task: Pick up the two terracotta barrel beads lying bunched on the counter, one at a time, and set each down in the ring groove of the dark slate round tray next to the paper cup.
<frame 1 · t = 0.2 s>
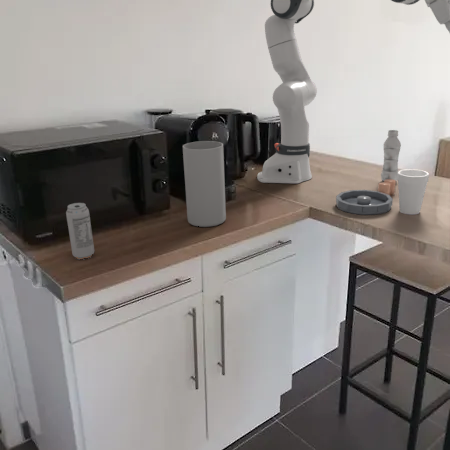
foam cup: (409, 211, 168), on the worktop
cylinder vase: (206, 221, 167), on the worktop
tray: (363, 206, 174), on the worktop
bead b: (383, 197, 182), on the worktop
plastic bottle: (389, 182, 200), on the worktop
bead a: (388, 193, 186), on the worktop
energy drink can: (84, 256, 144), on the worktop
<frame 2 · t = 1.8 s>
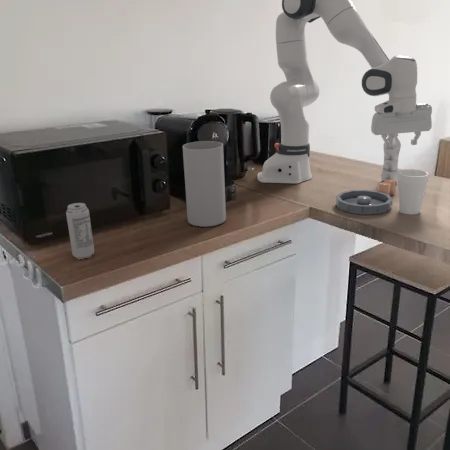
hand: (400, 145, 179), 18 cm above the worktop, tool pointing down, fingers open, 8 cm apart
nothing on the worktop moved.
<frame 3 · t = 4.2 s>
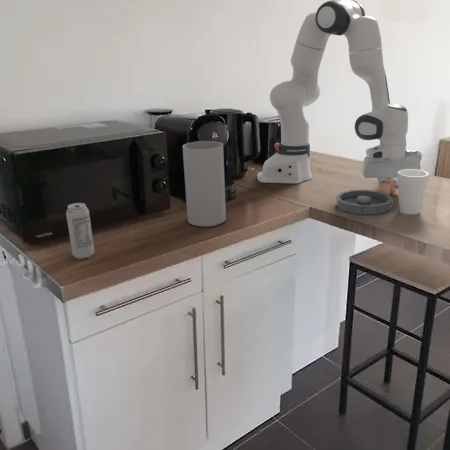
hand: (389, 188, 185), 2 cm above the worktop, tool pointing down, fingers closed on bead a, 4 cm apart
bead a: (388, 193, 186), on the worktop, touching gripper
everything else where it was.
when the fingers open (4 cm above the worktop, at t = 8.6 s): bead a drops 1 cm, resting on tray.
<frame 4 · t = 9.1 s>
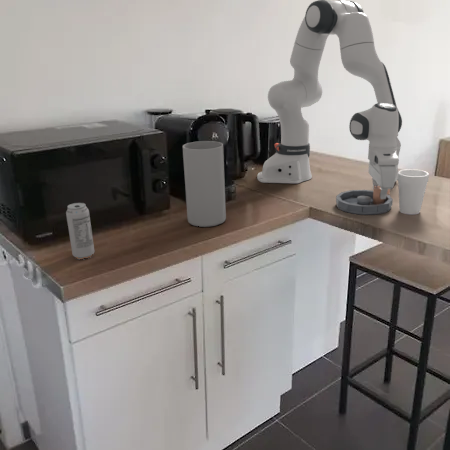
hand: (379, 194, 173), 4 cm above the worktop, tool pointing down, fingers open, 8 cm apart
bead a: (378, 202, 174), point 1 cm above the worktop, touching tray
everything else where it was.
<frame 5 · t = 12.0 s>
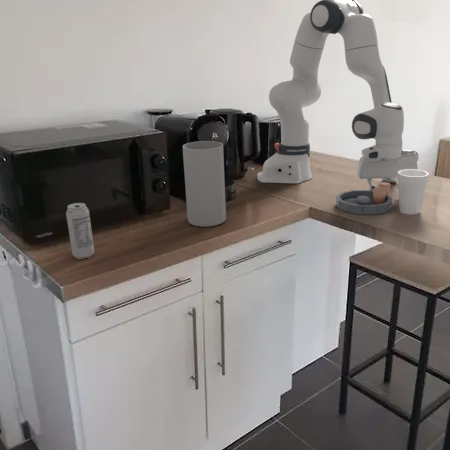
hand: (386, 189, 181), 3 cm above the worktop, tool pointing down, fingers open, 8 cm apart
nothing on the worktop moved.
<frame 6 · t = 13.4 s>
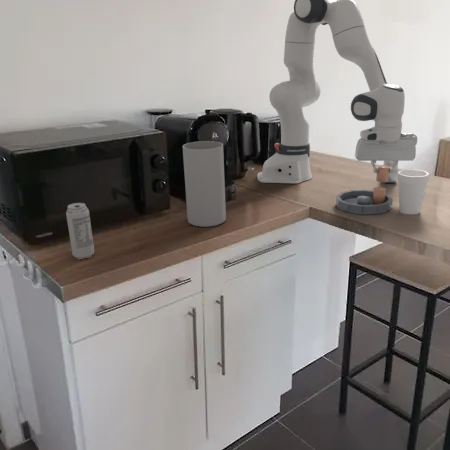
hand: (383, 172, 180), 9 cm above the worktop, tool pointing down, fingers closed on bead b, 4 cm apart
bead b: (381, 180, 181), point 6 cm above the worktop, touching gripper
everything else where it was.
when the fingers open (4 cm above the worktop, at t = 16.7 s): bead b stays where it is, resting on tray.
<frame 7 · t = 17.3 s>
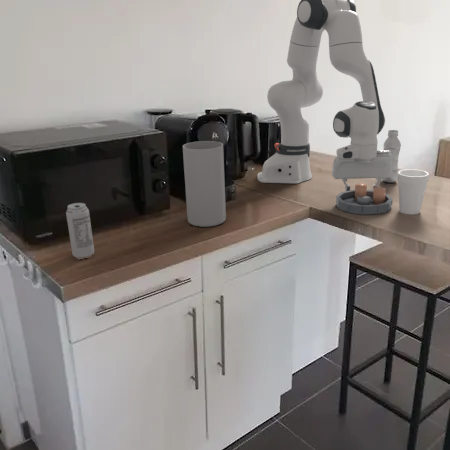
hand: (361, 190, 178), 4 cm above the worktop, tool pointing down, fingers open, 8 cm apart
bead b: (360, 198, 179), point 1 cm above the worktop, touching tray
everything else where it was.
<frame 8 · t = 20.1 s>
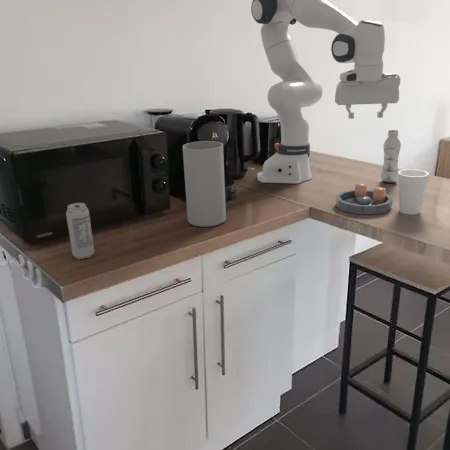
hand: (365, 117, 169), 29 cm above the worktop, tool pointing down, fingers open, 8 cm apart
nothing on the worktop moved.
at the end: bead a inside the target area on the tray (5.1 cm from its centre), point 1.0 cm above the tray's base; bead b inside the target area on the tray (5.2 cm from its centre), point 1.0 cm above the tray's base; the gripper is holding nothing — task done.
